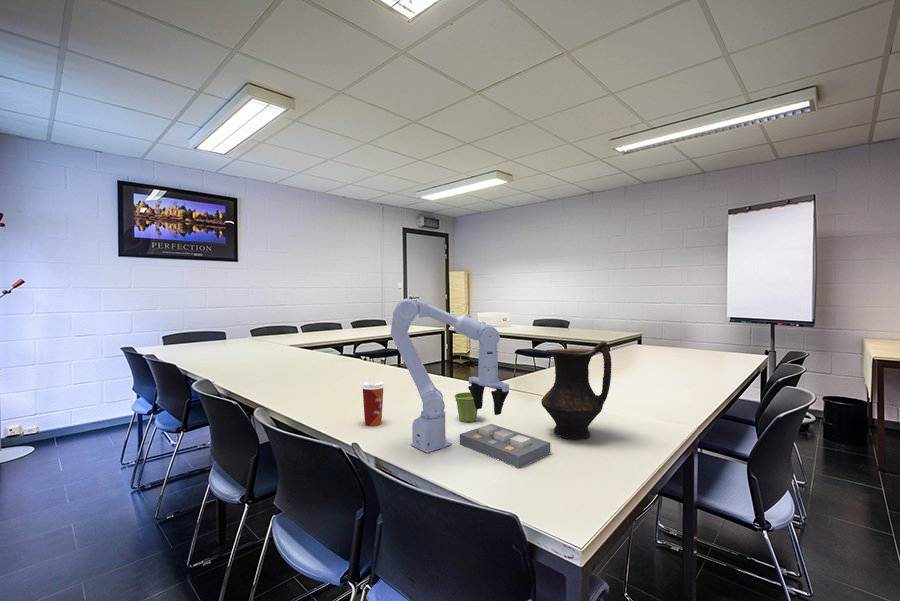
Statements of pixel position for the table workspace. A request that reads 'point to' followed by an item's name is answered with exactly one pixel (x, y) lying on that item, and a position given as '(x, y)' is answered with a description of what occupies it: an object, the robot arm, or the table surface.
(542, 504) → the table surface
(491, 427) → the end button
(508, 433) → the middle button
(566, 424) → the jug
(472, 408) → the plant pot
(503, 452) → the button board
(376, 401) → the paper cup
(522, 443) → the end button
